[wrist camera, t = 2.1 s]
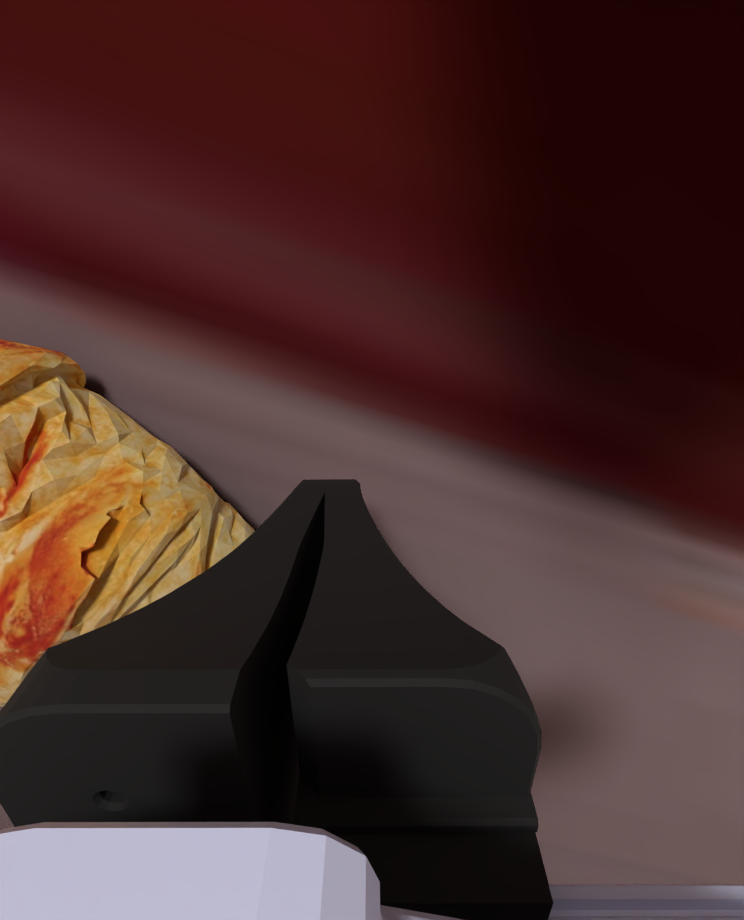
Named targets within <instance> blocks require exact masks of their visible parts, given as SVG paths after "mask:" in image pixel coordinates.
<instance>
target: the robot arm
mask: <svg viewBox="0 0 744 920" xmlns="http://www.w3.org/2000/svg"><path fill="white" fill-rule="evenodd" d="M540 750H541V729H540V726H539V722H538V718H537V715H536V712H535V709H534V707H533V704H532V702H531V699H530V697H529V695H528V693H527V691H526V688H525V686H524V684H523V682H522V680H521V678H520V676H519V674H518V672H517V670H516V668H515V666H514V665H513V663H512V661H511V659H510V657H509V656H508V654H507V652H506V650H505V649H504V648H503V647H502V646H501V645H499V644H498V643H496V642H494V641H493V640H491V639H490V638H488V637H487V636H485V635H483V634H482V633H480V632H479V631H477V630H476V629H474V628H472V627H471V626H469V625H468V624H466V623H465V622H463V621H462V620H460V619H459V618H458V617H457V616H455V615H454V614H453V613H451V612H450V611H449V610H447V609H446V608H445V607H444V606H443V605H442V604H441V603H439V602H438V601H437V600H436V599H435V598H434V597H433V596H432V595H431V594H430V593H428V592H427V591H426V590H425V589H424V588H423V587H422V586H421V585H420V584H419V583H418V582H417V581H416V580H415V579H414V577H413V576H412V575H411V574H410V573H409V572H408V571H407V570H406V568H405V567H404V566H403V565H402V564H401V562H400V561H399V560H398V559H397V557H396V556H395V555H394V553H393V552H392V550H391V549H390V548H389V546H388V545H387V543H386V542H385V540H384V539H383V537H382V535H381V534H380V532H379V530H378V529H377V527H376V525H375V523H374V521H373V519H372V518H371V516H370V514H369V512H368V509H367V507H366V505H365V502H364V500H363V497H362V494H361V489H360V483H359V482H358V481H356V480H303V481H302V482H301V483H300V484H299V485H298V486H297V487H296V488H295V489H294V490H293V491H292V493H291V494H290V495H289V496H288V497H287V498H286V499H285V501H284V502H283V503H282V504H281V505H280V506H279V507H278V508H277V509H276V510H275V511H274V512H273V513H272V515H271V516H270V517H269V518H268V519H267V520H266V521H265V522H264V523H263V524H262V525H261V526H260V527H259V528H258V529H257V530H256V531H254V532H253V533H252V534H251V535H250V536H249V537H248V538H247V539H246V540H245V541H243V542H242V543H241V544H240V545H239V546H238V547H237V548H235V549H234V550H233V551H232V552H230V553H229V554H228V555H227V556H225V557H224V558H223V559H221V560H220V561H218V562H217V563H216V564H214V565H213V566H212V567H210V568H209V569H207V570H206V571H204V572H203V573H201V574H200V575H198V576H196V577H195V578H193V579H192V580H190V581H188V582H187V583H185V584H183V585H182V586H180V587H179V588H177V589H175V590H174V591H172V592H170V593H169V594H167V595H165V596H163V597H162V598H160V599H158V600H156V601H154V602H152V603H150V604H148V605H147V606H145V607H143V608H141V609H139V610H136V611H134V612H132V613H130V614H128V615H126V616H124V617H122V618H120V619H118V620H116V621H113V622H111V623H109V624H107V625H104V626H102V627H100V628H97V629H95V630H92V631H90V632H87V633H85V634H83V635H80V636H78V637H75V638H73V639H70V640H68V641H66V642H63V643H61V644H58V645H55V646H53V647H50V648H48V649H47V650H46V651H45V652H44V654H43V655H42V656H41V657H40V659H39V660H38V661H37V662H36V664H35V665H34V666H33V668H32V669H31V670H30V671H29V673H28V674H27V675H26V677H25V678H24V680H23V681H22V682H21V684H20V685H19V686H18V688H17V689H16V690H15V692H14V693H13V695H12V696H11V697H10V699H9V700H8V701H7V703H6V704H5V706H4V707H3V708H2V710H1V711H0V803H1V805H2V806H3V808H4V810H5V811H6V813H7V815H8V816H9V818H10V820H11V821H12V823H13V824H14V826H15V827H12V828H6V829H1V830H0V920H744V885H549V884H548V880H547V876H546V872H545V868H544V865H543V861H542V857H541V853H540V849H539V845H538V841H537V838H536V834H535V832H537V829H538V818H537V814H536V810H535V807H534V803H533V799H532V795H531V787H532V783H533V779H534V775H535V771H536V767H537V762H538V758H539V754H540Z"/></svg>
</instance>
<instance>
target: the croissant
mask: <svg viewBox="0 0 744 920" xmlns="http://www.w3.org/2000/svg"><path fill="white" fill-rule="evenodd" d="M85 383H86V376H85V373H84V372H83V370H82V369H81V368H80V366H79V365H78V364H77V363H76V362H74V361H73V360H72V359H71V358H69V357H68V356H67V355H65V354H64V353H61V352H57V351H53V350H49V349H45V348H40V347H35V346H30V345H25V344H21V343H16V342H11V341H6V340H1V339H0V707H2V706H5V704H6V703H7V701H8V700H9V699H10V697H11V696H12V695H13V693H14V692H15V690H16V689H17V688H18V686H19V685H20V684H21V682H22V681H23V680H24V678H25V677H26V675H27V674H28V673H29V671H30V670H31V669H32V668H33V666H34V665H35V664H36V662H37V661H38V660H39V659H40V657H41V656H42V655H43V654H44V652H45V651H46V650H47V649H48V648H50V647H53V646H55V645H58V644H61V643H63V642H66V641H68V640H70V639H73V638H75V637H78V636H80V635H83V634H85V633H87V632H90V631H92V630H95V629H97V628H100V627H102V626H104V625H107V624H109V623H111V622H113V621H116V620H118V619H120V618H122V617H124V616H126V615H128V614H130V613H132V612H134V611H136V610H139V609H141V608H143V607H145V606H147V605H148V604H150V603H152V602H154V601H156V600H158V599H160V598H162V597H163V596H165V595H167V594H169V593H170V592H172V591H174V590H175V589H177V588H179V587H180V586H182V585H183V584H185V583H187V582H188V581H190V580H192V579H193V578H195V577H196V576H198V575H200V574H201V573H203V572H204V571H206V570H207V569H209V568H210V567H212V566H213V565H214V564H216V563H217V562H218V561H220V560H221V559H223V558H224V557H225V556H227V555H228V554H229V553H230V552H232V551H233V550H234V549H235V548H237V547H238V546H239V545H240V544H241V543H242V542H243V541H245V540H246V539H247V538H248V537H249V536H250V535H251V534H252V533H253V532H254V531H255V530H254V528H252V527H251V526H250V525H249V524H248V523H247V522H246V521H245V520H244V519H243V518H242V517H241V516H240V515H239V513H238V512H237V511H236V510H235V509H234V508H233V507H232V506H231V505H230V503H227V502H224V501H223V500H222V499H221V498H220V497H219V496H218V495H217V494H216V493H215V492H214V490H213V488H212V487H211V486H210V485H209V484H208V483H207V482H205V481H204V480H203V479H202V478H201V476H200V475H199V474H198V473H197V472H196V471H194V470H193V469H192V468H191V467H190V466H189V465H188V464H187V463H186V462H185V460H184V459H183V458H182V457H181V456H180V455H179V454H178V453H177V452H176V451H175V450H174V449H173V448H172V447H171V446H169V445H167V444H166V443H164V442H162V441H160V440H158V439H157V438H155V437H154V436H152V435H151V434H150V433H149V432H147V431H146V430H145V429H144V428H143V427H141V426H140V425H139V424H138V423H136V422H135V421H134V420H133V419H132V418H130V417H129V416H127V415H126V414H125V413H123V412H122V411H121V410H119V409H118V408H117V407H115V406H114V405H113V404H111V403H110V402H108V401H107V400H106V399H104V398H103V397H102V396H100V395H99V394H96V393H94V392H92V391H90V390H87V389H85V388H84V386H85Z"/></svg>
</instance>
